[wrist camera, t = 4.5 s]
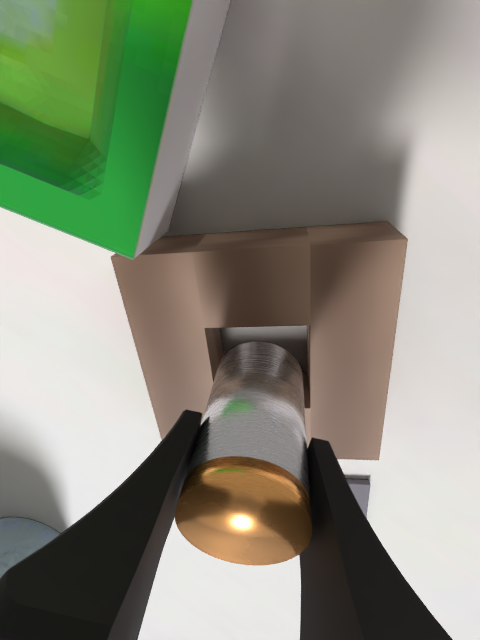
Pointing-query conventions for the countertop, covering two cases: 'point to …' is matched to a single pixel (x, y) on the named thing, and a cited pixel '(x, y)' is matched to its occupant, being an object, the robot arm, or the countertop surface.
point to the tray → (102, 112)
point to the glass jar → (250, 462)
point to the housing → (273, 318)
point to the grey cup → (21, 540)
